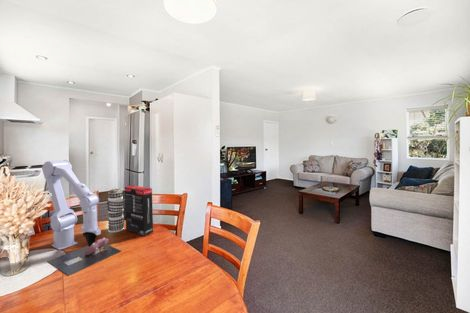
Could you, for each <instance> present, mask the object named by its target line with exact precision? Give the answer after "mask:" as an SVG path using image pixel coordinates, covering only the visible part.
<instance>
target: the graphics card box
mask: <svg viewBox="0 0 470 313" xmlns="http://www.w3.org/2000/svg"><path fill="white" fill-rule="evenodd" d="M124 208H125V209H124V210H125V230H126V231H127V232H128V231H129V232H132V233H134V234H137V235H140V236H143V237H145V236H147V235H150V234H151V233H153V232H154V222H153V220H154V217H153V188H152V187H145V186H137V185H133V184H132V185H126V186H124Z"/></svg>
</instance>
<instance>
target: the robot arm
mask: <svg viewBox="0 0 470 313" xmlns="http://www.w3.org/2000/svg"><path fill="white" fill-rule="evenodd" d="M41 170H42V173H43V176H44V179H45V181H46V185H47V188H48V189H47V190H48V192H49V194H50V193H52V196H50V198H51V203H52V206H53V209H54V212H53V214H52V215H51V216H50V217H49V219H50V224H49V225H50V228H51V230H53V232H52V233H53V244H51V246H52V247H53V248H55V249H56V250H58V251H61V250H64V249H67V248H69V247H73V246H76V245H78V243H79V242H77V241H75V231H74V227H75V226H76V224H77V222H78V217H77V215H76V213H75V210H73V209H72V208H69V207H68V203H67V200H66V195H65V192H64V190H63V189H64V188H63V185H62V182H61V181H62V180H61V179H62V177H63V178H64V180H65V181H67V182H68V183H69V185H71V187H72V188H71V191H72V192H73V194H74V195H75V196H76V198H77V199H78V200H79V203H78V204H79V207H80V208H81V211H82V218H83V219H82V220H83V221H82V222H83V223H82V224H83V225H81V228H80V229H81V230H80V232H81V233H82V235H83V237H84V239H85V240H86V244H87V246H89V247H90V246H91V245H92V244H93V243H95V242H96V241H97V240H96V239H97V237H98V235H99V236H100V235H101V234H102V231H101V229H100V227H99V226H98V205H99V203H100V197H99V195H98V194H96V193H94V192H92V191H91V190H90V189H89V188H88V187H87V185H86V184H85V183H82V182H80V180H79V179H78V177H77V176H76V174H75V172H74V171H73V165H72V164H71V162H70V161H69V160H67V159H64V160H52V161H51V160H50V161H49V160H48V161H45V162H44V163H43V165H42V167H41Z"/></svg>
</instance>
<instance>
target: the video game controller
mask: <svg viewBox="0 0 470 313" xmlns="http://www.w3.org/2000/svg"><path fill="white" fill-rule="evenodd" d="M109 241H110V240H109V239H108V238H106V237H103V238H99V239H97V240H95V243H93V244H92V245H91V246H90V247H89V248H88V249H87V250H86V251H85V255H89V254H91V253H92V252H94V253H96V252H97V251H98V250H99V249H100V250H101V249H103V247H104V246H105V245H106V244H107V245H108V243H109Z"/></svg>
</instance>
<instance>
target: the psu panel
mask: <svg viewBox="0 0 470 313" xmlns="http://www.w3.org/2000/svg"><path fill="white" fill-rule="evenodd" d="M88 248H89V246H88V245H86V246H83V247H80V248H78V249H75V250H74V251H70V252H67V253H65V254H63V255H60V256H57V257H54V258H52V259H49V260H47V262H48V264H50V265H52V266H53V267H54V268H57V269H58V270H59V271H60V272H62V273H63V274H65V275H67V276H71V275H73V274H75V273H77V272H80V271H82V270H85V269H86V268H88V267H90V266H91V267H92V265H95V264H98V263H99V262H102V261H104V260H106V259H109V258H111V257H112V256H114V255H117V254H119V253H121V252H122V250H120V249H118V248H115V247H113V246H111V245H109V244H108V243H107V244H106V245H105V246H104V247H103V249H101V250H100V249H99V250H98V251H97V252H96V253H94V252H92V253H91V254H89V255H85V251H86V250H87V249H88Z"/></svg>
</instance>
